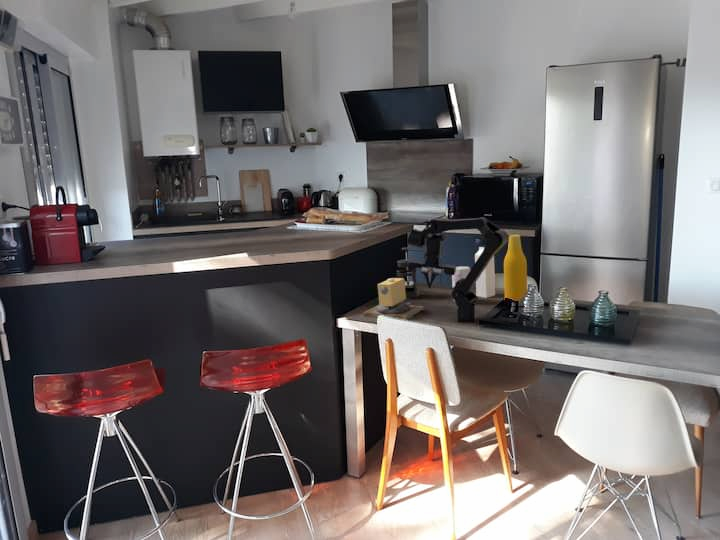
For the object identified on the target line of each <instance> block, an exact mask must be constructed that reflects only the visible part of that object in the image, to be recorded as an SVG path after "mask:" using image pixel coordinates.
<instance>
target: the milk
mask: <svg viewBox="0 0 720 540" xmlns="http://www.w3.org/2000/svg"><path fill="white" fill-rule="evenodd" d="M484 247H485V246H479V247H478V250H477V252H476V253H475V254H474V264H475V263H476V261H477V260H478V258H479V257H480V255H481V253H482V252H483V250H484ZM495 271H496V270H495V255H494V256H493V257H492V259H491V260H490V262H489V263H488V265H487V266H486V268H485V269H484V271H483V272H482V274H481V275H480V277H479V278H478V279H477V281H476V283H475V291H476V292H475V295H476V296H477V297H478V298H479V297H480V298H485V299H487V298H491V297H494V296H496V281H495V279H496V276H495V275H496V274H495Z"/></svg>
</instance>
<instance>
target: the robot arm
mask: <svg viewBox="0 0 720 540" xmlns="http://www.w3.org/2000/svg"><path fill="white" fill-rule="evenodd" d="M461 230H478V231H479V233H480V234H481V236H482V237H483V239H485V243H484V246H483V247H484V250H483V252H482V253H481V255H480V257H479V258H478V260H477V261H476V263H475V262H474V264H473V266H472V267H471V268H470V272H469V273H468V275H467V276H466V278H465V279H464V278H462V279H460V280H458V281H457V282H456V284H455V287H454V288H453V287H452V288H451V290H452V292H451V296H452V300H453V299H454V300H455V301H454V303H455V302H456V303H455V304H456V307H457V308H456V314H457V322H461V323H462V322H463V323H475V322H476V320H477V319H478V316H477V304H476V303H477V302H478V300H479V296H476V293H474V289H475V287H476V281H477V279H478V278H479V277H480V275H481V274H482V272H483V271H484V269H485V268H486V266H487V265H488V263H489V262H490V260H491V259H492V257H493V256H494V257H495V254H497V253H498V252H499V251H500V250H501V249H502V248H503V247H504V246H505V245H506V244H507V243H509V235H508V232H506V231H505V230H504V229H500V228H499V227H498V226H497V225H495V224H494V223H492V222H491V221H490V220H488V218H486V217H477V218H459V219H448V218H443V217H435V218H433V219H429V220H428V221H427V222H426V223H425V227H424V228H423V229H422V230H421V229H420V230H419V229H416V228H412V229H410V233H409V235H408V238H407V244H408V246H410V247H415V248H421V249H423V248H424V247H425V251H424V254H423V255H424V256H423V260H424V263H422V262H421V260H418V259H414V260H410V261H409V262H408V265H407V267H406V270H407V269H408V270H409V269H410V270H417V268H418V269H421V271H420V273H421V274H423V276H424V278H425V281H426V284H427V287H428V289H431V288H432V286H433V284H434V282H435V279H436V278H437V276H440V274H442V272H444V274H445V275H449V276H452V275H454V274H455V273H456V267H457V266H456V264H449V263H447V264H446V265H445V266H444V265H441V263H442V256H441V254H442V253H441V252H442V250H441V249H442V244H443V243H442V242H445V241H447V240H448V237H446V236H445V234H444V233H445V232H448V231H461ZM440 233H442V234H440ZM439 234H440V235H439ZM431 271H432V272H431Z"/></svg>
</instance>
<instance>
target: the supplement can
mask: <svg viewBox="0 0 720 540" xmlns="http://www.w3.org/2000/svg"><path fill="white" fill-rule="evenodd" d="M470 270H471V268H470V266H465V265H464V266H463V265H462V266H456V273H455V274H454V275H451V280H452V281H451V282H452V288H454V287H455V284H456V282H457V281H458V280H460V279H462V278H464V279H465V278H466V276H467V275H468V273H469V272H470ZM452 301H453V302H455V300H454V299H453V298H452Z"/></svg>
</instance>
